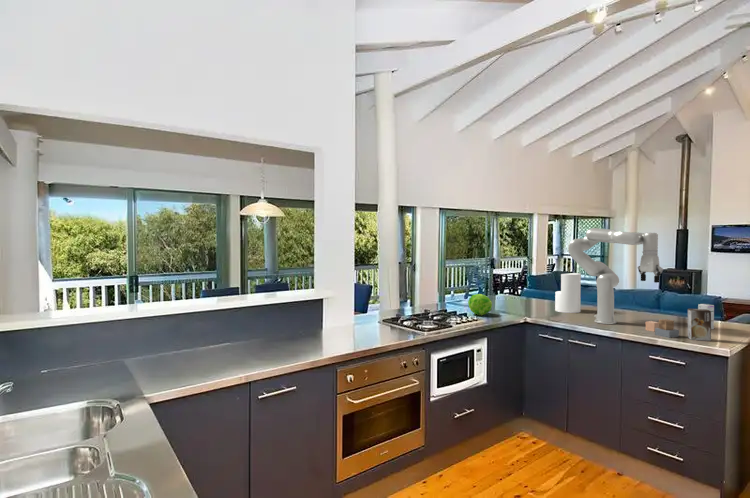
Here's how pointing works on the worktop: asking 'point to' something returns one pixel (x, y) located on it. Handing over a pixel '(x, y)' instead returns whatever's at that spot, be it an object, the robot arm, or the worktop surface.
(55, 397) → the worktop surface
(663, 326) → the walnut cube
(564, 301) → the cylinder
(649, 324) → the terracotta cube
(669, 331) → the base block
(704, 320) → the coffee box
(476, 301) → the lettuce
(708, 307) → the syrup box
